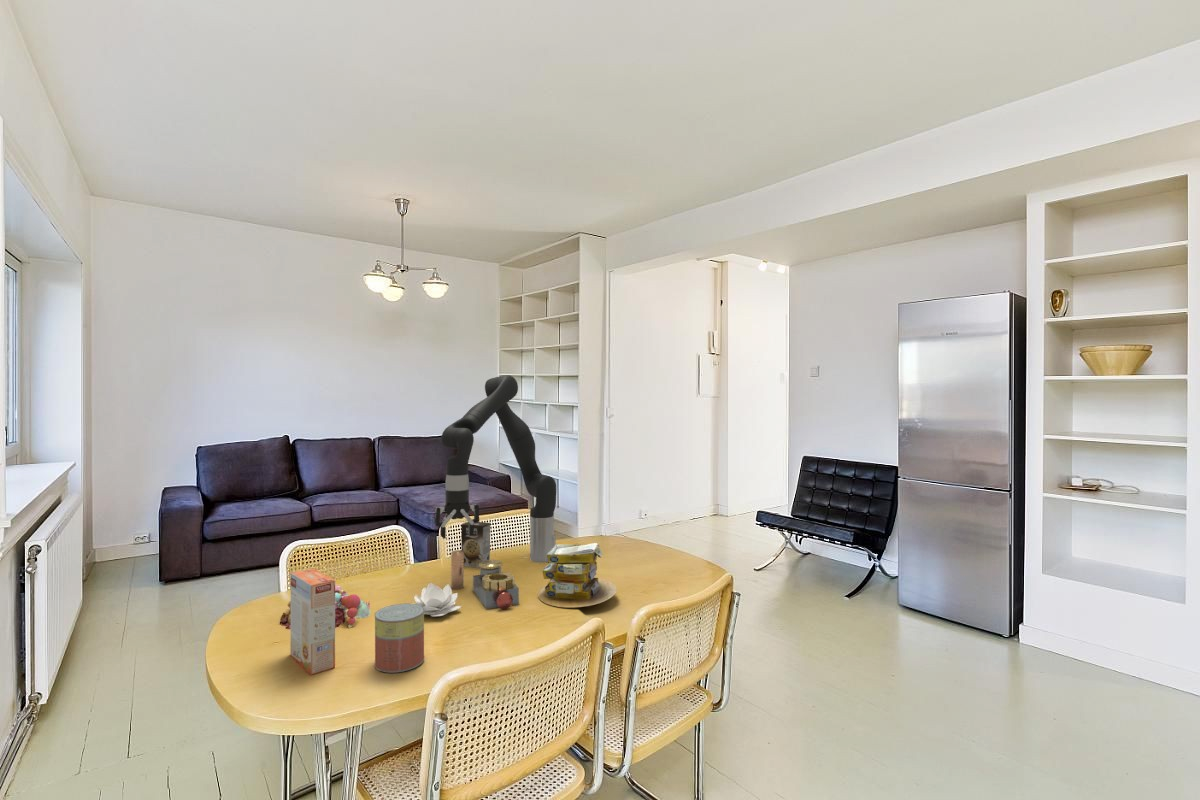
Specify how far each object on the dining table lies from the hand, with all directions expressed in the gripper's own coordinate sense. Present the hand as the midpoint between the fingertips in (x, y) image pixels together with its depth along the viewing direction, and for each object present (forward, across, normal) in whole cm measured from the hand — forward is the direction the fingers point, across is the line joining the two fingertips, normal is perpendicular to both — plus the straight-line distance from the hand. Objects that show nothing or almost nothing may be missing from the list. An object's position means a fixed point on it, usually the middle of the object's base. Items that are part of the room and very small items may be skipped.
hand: (457, 536), depth 193 cm
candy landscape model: (+18, +39, +10) cm, 44 cm away
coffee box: (+17, -11, -22) cm, 30 cm away
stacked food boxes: (+20, -37, +25) cm, 49 cm away
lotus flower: (+17, +10, +20) cm, 28 cm away
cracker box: (+18, +42, +40) cm, 60 cm away
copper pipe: (+17, 0, 0) cm, 17 cm away
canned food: (+17, +23, +48) cm, 56 cm away
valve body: (+17, -9, +14) cm, 24 cm away
